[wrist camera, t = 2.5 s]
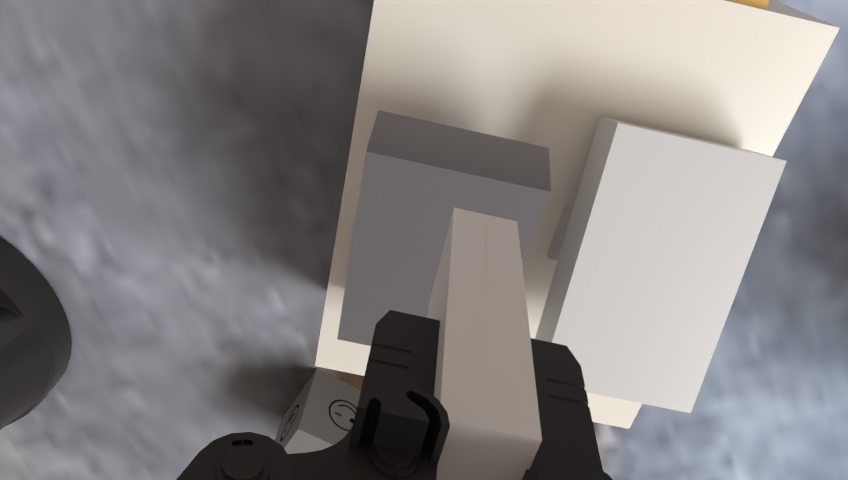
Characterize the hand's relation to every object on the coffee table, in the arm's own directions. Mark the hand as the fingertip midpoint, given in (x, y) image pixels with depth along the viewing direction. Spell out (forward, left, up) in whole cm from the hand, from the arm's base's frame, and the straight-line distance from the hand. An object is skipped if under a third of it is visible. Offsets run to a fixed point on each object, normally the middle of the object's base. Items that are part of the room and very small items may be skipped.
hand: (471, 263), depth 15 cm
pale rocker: (+8, -4, -9) cm, 13 cm away
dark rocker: (0, -5, -9) cm, 10 cm away
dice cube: (-3, -23, -17) cm, 29 cm away
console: (+4, -4, -17) cm, 18 cm away
